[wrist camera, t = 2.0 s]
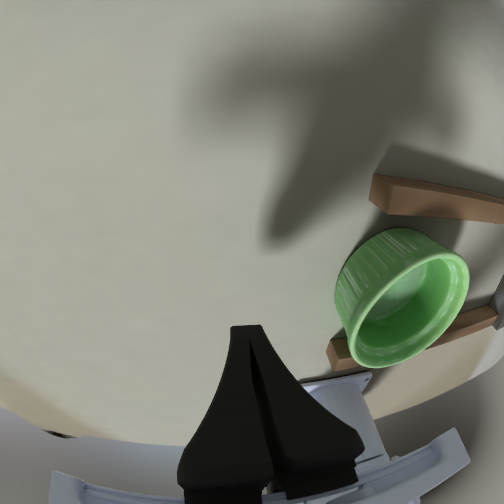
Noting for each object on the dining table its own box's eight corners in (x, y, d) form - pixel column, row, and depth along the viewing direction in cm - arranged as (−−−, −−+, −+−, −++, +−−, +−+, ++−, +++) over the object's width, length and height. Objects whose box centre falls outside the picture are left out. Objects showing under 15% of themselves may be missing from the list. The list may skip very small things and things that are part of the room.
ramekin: (449, 229, 16) (488, 261, 12) (400, 323, 20) (424, 360, 17) (354, 204, 14) (397, 242, 11) (307, 325, 19) (326, 375, 15)
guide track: (490, 311, 23) (503, 326, 21) (326, 352, 20) (337, 381, 18) (534, 208, 16) (552, 220, 14) (373, 174, 13) (405, 192, 11)
